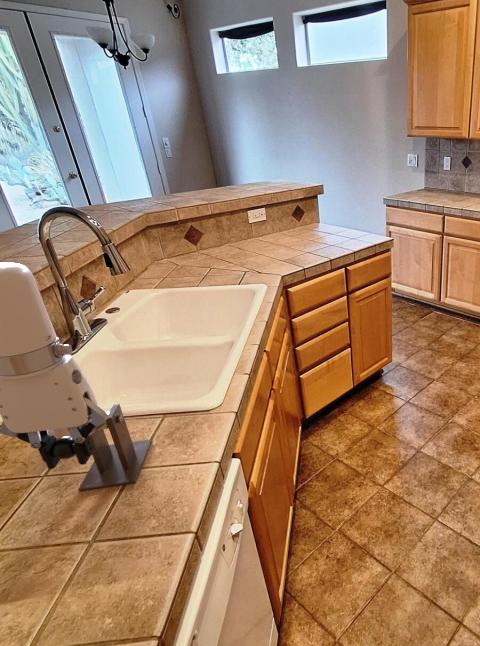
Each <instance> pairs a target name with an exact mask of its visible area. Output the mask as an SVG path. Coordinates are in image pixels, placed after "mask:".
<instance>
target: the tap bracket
mask: <svg viewBox="0 0 480 646" xmlns="http://www.w3.org/2000/svg"><path fill="white" fill-rule="evenodd" d="M108 412H109V413H108V415H109V416H108V418H107V420H106V422H107V425H108V431H109V433H110V436H111V439H112V442H113V443H112V444H111V443H110V444H109V441H108V439H107V436H106V433H105V429H101V430H96V431H95V432H94V433H92V434H91V435H90V436H89V437H90V440H91V442H92V445H93V447H94V452H93V454H92V455H91V457H92V458H93V462H92V464H91V466H90V467H89V470H88V472H87V473H86V475H85V476H84V479H83V480H82V482H81V483H80V485H79V488H78V489H77V490H78V492H79V493H82V492H88V491H94V490H101V489H108V488H114V487H115V488H116V487H121V486H128V485H135V484H136V483H137V481H138V479H139V477H140V473H141V471H142V470H143V469H142V468H143V466H144V464H145V462H146V459H147V456H148V454H149V453H150V450H151V447H152V444H153V442H154V441H153V438H149V439H142V440H135V441H133V440H132V438H131V435H130V432H129V429H128V428H129V427H128V426H127V423H126V420H125V416H124V413H123V411H122V407H121V404H120V403H117V404H113V405H112V406H111V408H110V410H109V411H108ZM87 418H88V420H90V419H92V418H91V417H90V416H89V415H87ZM87 422H88V421H87Z"/></svg>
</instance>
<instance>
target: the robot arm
mask: <svg viewBox="0 0 480 646" xmlns="http://www.w3.org/2000/svg"><path fill="white" fill-rule="evenodd" d="M71 354H73V346H72V345H71V344H64V343H61V340H60V338H59V337H58V335H57V332H56V331H55V328H54V326H53V323H52V320H51V318H50V314H49V311H48V310H47V307H46V304H45V302H44V299H43V297H42V293H41V291H40V288H39V286H38V284H37V281H36V279H35V276H34V274H33V272H32V271H31V269H29V268H28V267H27V266H25V265H23V264H20V263H15V262H0V418H1V419H2V422H1V425H0V434H1V435H4V436H8V437H13V438H17V439H18V440H20V441H23V442H25V443H27V444H29V445H30V448H32V449H34V450H37V451H38V453H39V454H40V457H41V460H42V461H43V462H45V465H46V466H47V468H48V470H54V469H55V468H56V467H57V466H58V464H59V462H60V461H61V460H62V459H58V458H56V457H54V456H53V454H52V452H51V447H52V445H53V443H54V442H55V441H56V440H57V439H56V437H54V435H52V436H50V435H49V430H53V429H61V428H67V430H68V431H69V433H70V435H71V436H72V438H73V439H74V441H75V442H74V443H73V445H72V447H73V450H74V452H75V454H76V455H75V456H76V457H75V458H76V459H77V462H78V464H79V465H81V466H83V465H86V464H87V463H88V461H89V459H90V458H91V457H92V454H93V452H94V447H93V445H92V442H91V440H90V437H89V434H90V433H91V432H92V431H93V429H94V428H96V427H98V426H100V425H101V424H103V423H104V422H105V421H106V420H107V418H108V416H109V415H108V414H107V413H106V412H107V411H105V410H104V409H102V408H101V407H100V406H98V402H97V398H96V396H95V393H94V391H93V389H92V387H91V384H90V383H89V381H88V378H87V376H86V375H85V374H84V372H83V370H82V369H81V367H80V365H79V364H78V363H77V361H76V360H75V359H74V357H73V356H72V355H71ZM87 415H89V416H90V417H91V418H92V419H90V420H88V418H87ZM87 421H88V422H87Z"/></svg>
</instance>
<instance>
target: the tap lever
mask: <svg viewBox="0 0 480 646" xmlns="http://www.w3.org/2000/svg"><path fill="white" fill-rule="evenodd" d="M105 412H106V413H107V414H108V413H109V412H110V411H105ZM101 429H103V430H109V428H108V425H107V422H106V421H105V422H104V423H103V424H101V425H100V426H98V427H96V428H94V429H93V431H92V432H91V433H90V434H89V436H90V435H91V434H92V433H94V432H95V431H96V430H101ZM74 442H75V441H74V439H73V438H72V437H70V436H65V437H61V438H59V439H57V440H56V441H55V442H54V443H53V445H52V447H51V452H52V454H53V456H54V457H56V458H58V459H61V460H68V459H71V458H73V457H75V456H76V454H75V452H74V450H73V447H72V445H73V443H74Z"/></svg>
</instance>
